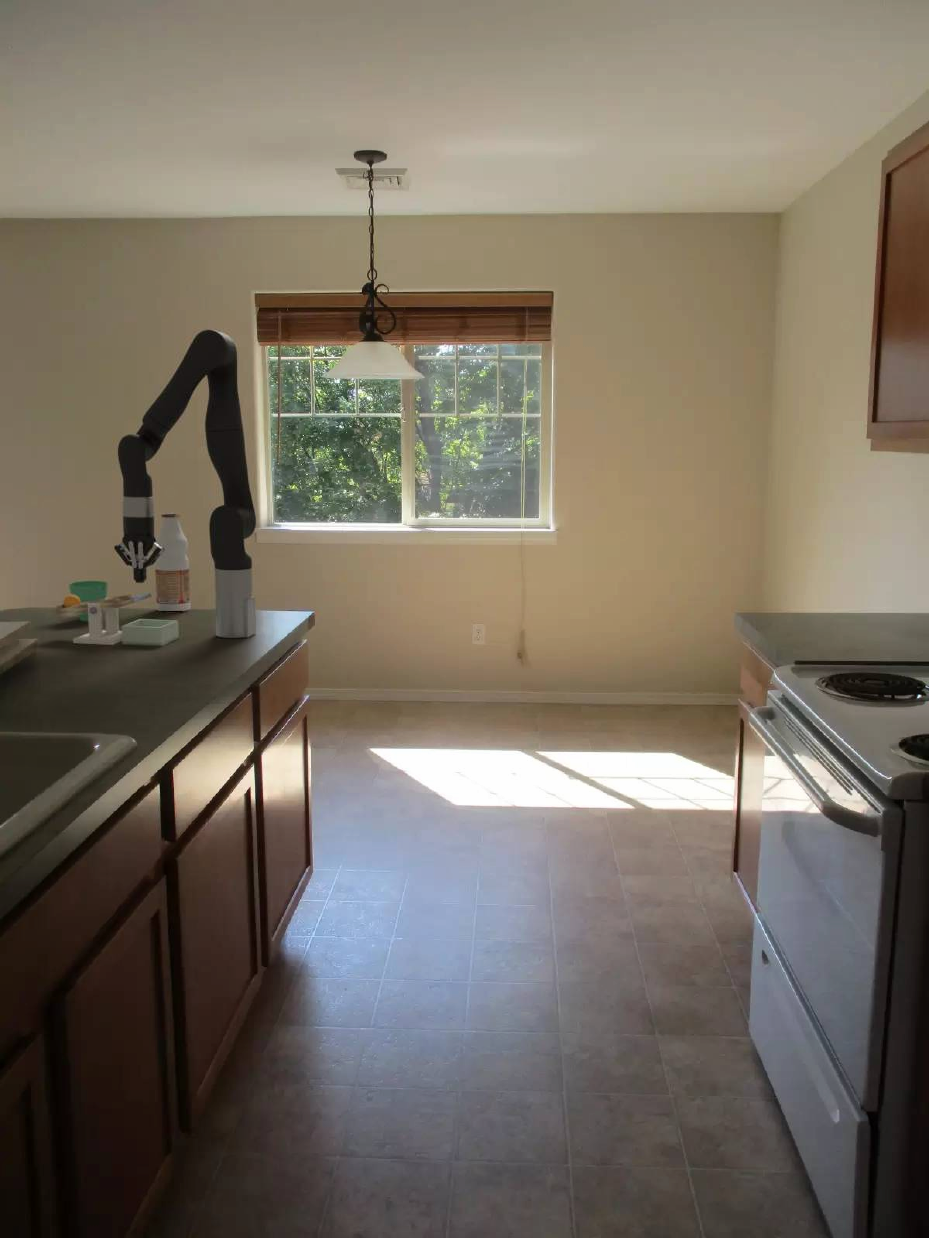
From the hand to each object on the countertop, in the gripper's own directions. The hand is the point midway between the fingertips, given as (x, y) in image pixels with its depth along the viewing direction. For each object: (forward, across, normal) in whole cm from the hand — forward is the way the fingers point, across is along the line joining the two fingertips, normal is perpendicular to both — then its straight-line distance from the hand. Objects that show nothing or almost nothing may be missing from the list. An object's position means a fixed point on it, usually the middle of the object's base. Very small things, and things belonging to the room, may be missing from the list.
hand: (140, 582), depth 257 cm
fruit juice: (+13, +5, -32) cm, 35 cm away
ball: (+4, +12, +12) cm, 17 cm away
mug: (+13, +21, -14) cm, 29 cm away
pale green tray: (+13, -8, +12) cm, 19 cm away
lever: (+6, +6, +7) cm, 11 cm away
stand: (+13, +4, +12) cm, 18 cm away
